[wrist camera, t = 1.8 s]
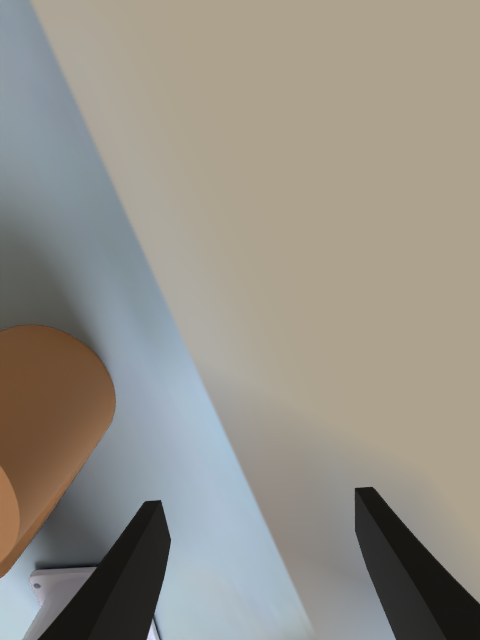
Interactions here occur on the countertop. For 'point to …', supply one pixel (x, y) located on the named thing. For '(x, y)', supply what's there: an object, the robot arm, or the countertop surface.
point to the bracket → (45, 426)
